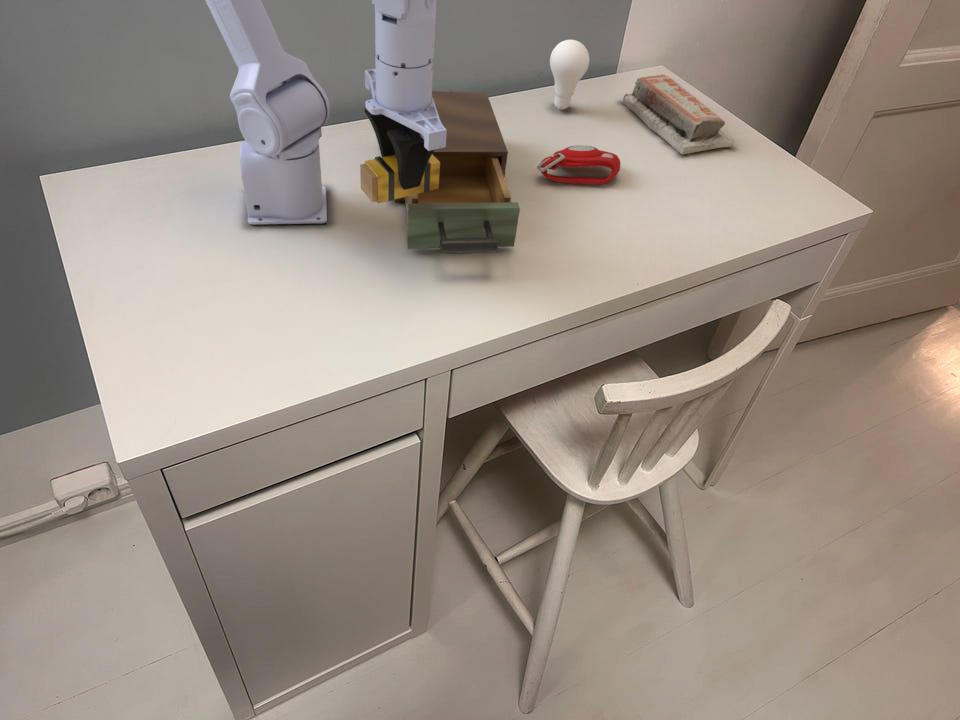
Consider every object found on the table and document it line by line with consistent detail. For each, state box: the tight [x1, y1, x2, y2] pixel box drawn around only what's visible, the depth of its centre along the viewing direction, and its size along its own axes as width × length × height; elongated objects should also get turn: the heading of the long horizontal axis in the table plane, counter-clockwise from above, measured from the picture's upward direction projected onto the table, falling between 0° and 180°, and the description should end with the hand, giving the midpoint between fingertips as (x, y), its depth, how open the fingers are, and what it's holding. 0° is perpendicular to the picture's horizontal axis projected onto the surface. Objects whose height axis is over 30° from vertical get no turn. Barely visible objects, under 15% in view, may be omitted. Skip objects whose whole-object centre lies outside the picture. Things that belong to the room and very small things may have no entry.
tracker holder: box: [536, 145, 621, 185], centre depth 103 cm, size 12×4×10 cm
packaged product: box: [622, 74, 735, 155], centre depth 117 cm, size 18×5×10 cm
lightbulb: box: [549, 39, 590, 111], centre depth 115 cm, size 6×6×11 cm
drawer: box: [404, 156, 521, 254], centre depth 90 cm, size 20×13×6 cm, turn 10°
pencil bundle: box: [359, 154, 440, 204], centre depth 80 cm, size 8×4×4 cm, turn 122°
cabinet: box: [393, 90, 509, 203], centre depth 100 cm, size 16×14×7 cm
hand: (402, 177), depth 81 cm, fingers closed on pencil bundle, 3 cm apart
